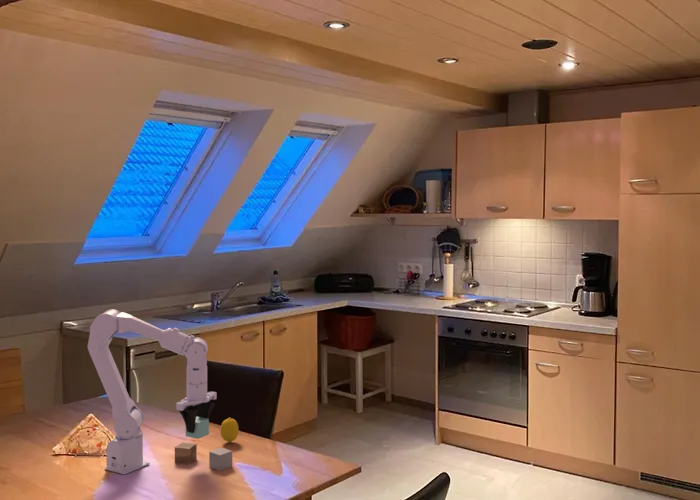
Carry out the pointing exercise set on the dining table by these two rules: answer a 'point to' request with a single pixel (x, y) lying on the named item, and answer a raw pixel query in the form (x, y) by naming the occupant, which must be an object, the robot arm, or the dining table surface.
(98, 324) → the robot arm
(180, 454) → the walnut block
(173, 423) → the dining table surface
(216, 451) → the grey block
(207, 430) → the teal block
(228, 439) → the lemon
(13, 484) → the dining table surface
